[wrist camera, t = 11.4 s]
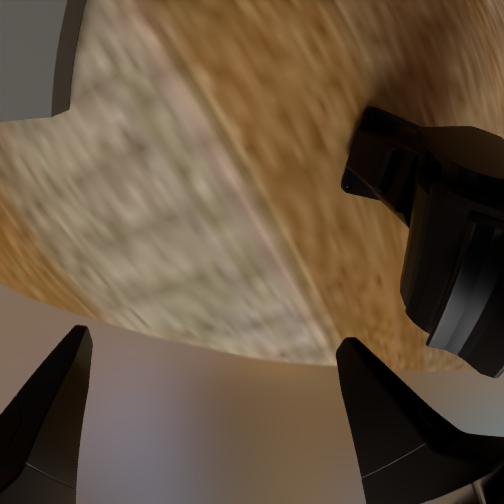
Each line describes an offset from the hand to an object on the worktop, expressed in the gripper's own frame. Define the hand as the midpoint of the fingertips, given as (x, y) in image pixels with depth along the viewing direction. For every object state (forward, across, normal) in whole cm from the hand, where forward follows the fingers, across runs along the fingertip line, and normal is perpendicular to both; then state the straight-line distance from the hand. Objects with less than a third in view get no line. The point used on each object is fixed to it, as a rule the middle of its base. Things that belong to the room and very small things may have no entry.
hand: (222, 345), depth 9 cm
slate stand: (+12, +15, -10) cm, 22 cm away
